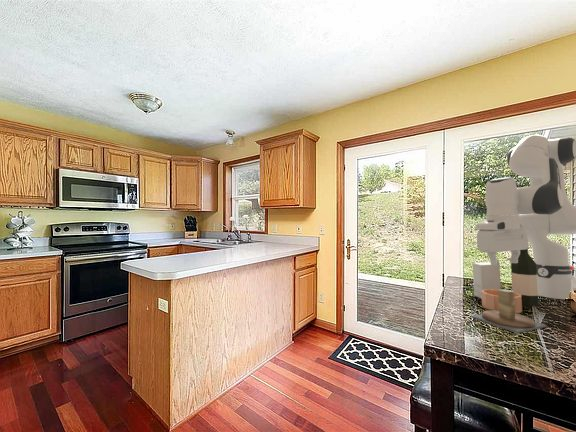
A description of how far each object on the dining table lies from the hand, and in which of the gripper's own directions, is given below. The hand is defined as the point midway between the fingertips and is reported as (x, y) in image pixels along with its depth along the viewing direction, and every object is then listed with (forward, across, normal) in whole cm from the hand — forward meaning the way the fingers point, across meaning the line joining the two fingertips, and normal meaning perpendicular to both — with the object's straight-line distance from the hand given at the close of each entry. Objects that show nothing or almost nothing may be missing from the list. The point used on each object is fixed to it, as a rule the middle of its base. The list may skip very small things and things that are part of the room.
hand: (504, 264), depth 87 cm
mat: (+20, 0, 0) cm, 20 cm away
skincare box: (+20, -23, -22) cm, 37 cm away
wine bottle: (+20, -29, -11) cm, 37 cm away
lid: (+19, 0, 0) cm, 19 cm away
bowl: (+20, -13, -10) cm, 26 cm away
